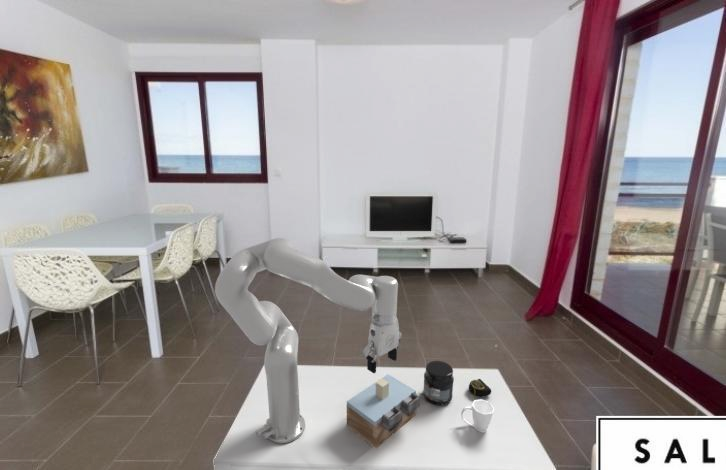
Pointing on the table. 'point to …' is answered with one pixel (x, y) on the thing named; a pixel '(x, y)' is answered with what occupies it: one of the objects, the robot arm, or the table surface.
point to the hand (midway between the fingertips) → (382, 364)
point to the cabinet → (382, 422)
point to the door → (381, 399)
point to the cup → (480, 414)
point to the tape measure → (479, 388)
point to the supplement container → (438, 383)
